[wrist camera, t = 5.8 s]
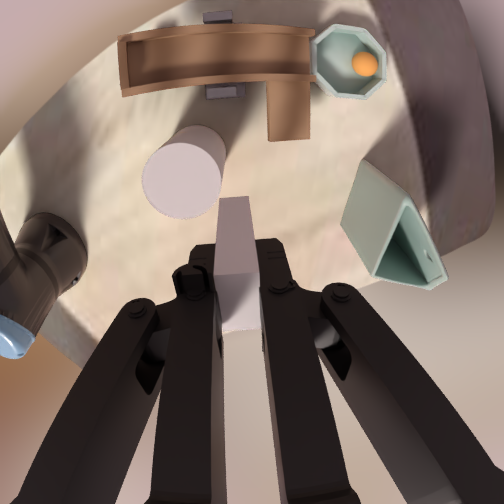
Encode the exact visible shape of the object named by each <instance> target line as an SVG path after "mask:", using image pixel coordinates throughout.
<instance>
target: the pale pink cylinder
mask: <svg viewBox="0 0 504 504" xmlns="http://www.w3.org/2000/svg"><path fill="white" fill-rule="evenodd" d="M225 159H226V148H225V144H224V142H223V140H222V138H221V137H220V136H219V134H218V133H216V132H215V131H214V130H212V129H211V128H208V127H206V126H201V125H193V126H188V127H185V128H183V129H181V130H180V131H178V132H177V133H176V134H175V135H174V136H172V137H171V138H170V139H169V140H168V141H167V142H166V143H164V144H163V145H162V146H161V147H160V148H159V149H158V150H157V151H155V152H154V153H153V154H152V155H151V156H150V158H149V159H148V161H147V162H146V164H145V166H144V169H143V173H142V187H143V191H144V194H145V196H146V198H147V200H148V201H149V203H150V204H151V205H152V206H153V207H154V208H155V209H156V210H157V211H159V212H160V213H162V214H164V215H166V216H168V217H171V218H176V219H190V218H194V217H197V216H200V215H202V214H203V213H205V212H206V211H208V210H209V209H210V208H211V207H212V206H213V205H214V203H215V202H216V200H217V198H218V196H219V194H220V190H221V184H222V178H223V171H224V165H225Z"/></svg>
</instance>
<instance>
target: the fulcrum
mask: <svg viewBox="0 0 504 504" xmlns="http://www.w3.org/2000/svg"><path fill="white" fill-rule="evenodd" d="M203 22H204V24H233V17H232V11H219V12H208V13H203ZM234 24H242V23H234ZM205 87H206V100H207V99H219V98H233V97H246V96H245V82H230V83H216V84H205Z"/></svg>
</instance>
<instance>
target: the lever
mask: <svg viewBox="0 0 504 504" xmlns="http://www.w3.org/2000/svg"><path fill="white" fill-rule="evenodd" d="M311 36H315V29H309V28H301V27H292V26H281V25H266V24H204V25H189V26H178V27H169V28H161V29H154V30H148V31H141V32H136V33H130V34H125V35H120V36H118V42H117V46H118V62H119V75H120V86H121V90H122V97H127V96H132V95H137V94H142V93H148V92H153V91H159V90H166V89H172V88H179V87H187V86H196V85H205V84H216V83H230V82H250V81H266V92H267V125H268V141H270V142H275V141H288V140H303V139H310V82H316V75H310V55H309V37H311Z"/></svg>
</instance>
